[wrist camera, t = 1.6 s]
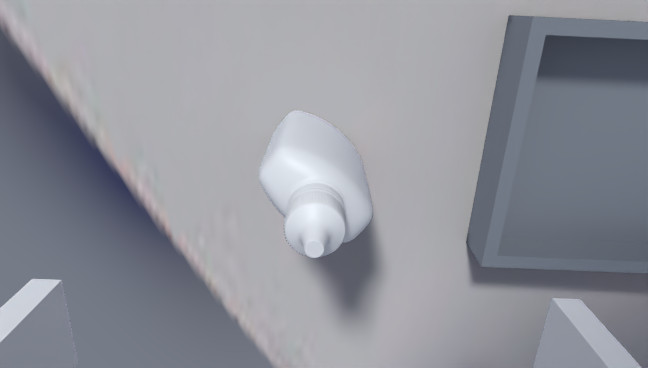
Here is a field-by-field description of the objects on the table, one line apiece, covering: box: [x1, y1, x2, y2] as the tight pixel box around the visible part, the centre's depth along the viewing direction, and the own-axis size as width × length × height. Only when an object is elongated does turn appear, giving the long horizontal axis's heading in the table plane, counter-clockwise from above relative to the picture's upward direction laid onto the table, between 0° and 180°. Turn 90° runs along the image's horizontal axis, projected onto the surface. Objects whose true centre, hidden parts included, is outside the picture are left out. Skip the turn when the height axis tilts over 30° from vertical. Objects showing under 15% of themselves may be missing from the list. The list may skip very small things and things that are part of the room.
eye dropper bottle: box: [258, 110, 373, 258], centre depth 21 cm, size 4×6×12 cm
